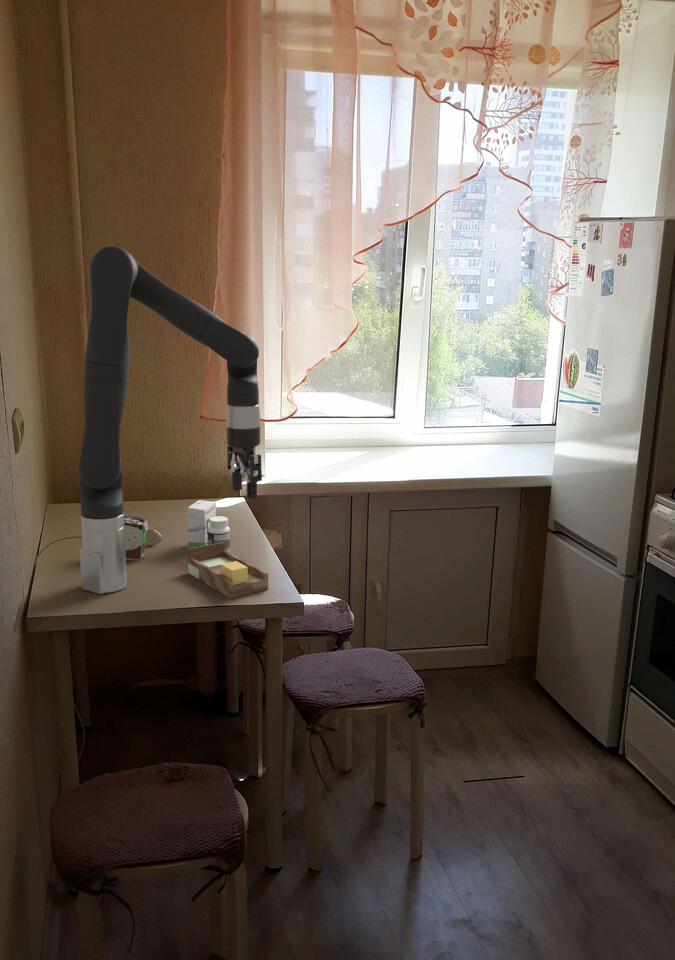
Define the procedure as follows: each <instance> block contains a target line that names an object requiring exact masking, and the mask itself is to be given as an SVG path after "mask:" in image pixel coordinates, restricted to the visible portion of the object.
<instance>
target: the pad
mask: <svg viewBox="0 0 675 960" xmlns="http://www.w3.org/2000/svg"><path fill="white" fill-rule="evenodd" d="M199 562H201V563H202V564H204V565H206V566H208V567H212V566H217V565H221V564H225V563H230V562H232V561H230V560H228V559H226V558H225V557H223V556H222V557H217V558H213V559H208V560H203V561H199ZM187 572H188V574H189V575H191V576H193V577H195V578H196V579H198V580H199V569H197V568H196V567H194V566H192V565H191V564H189V563H188V562H187Z"/></svg>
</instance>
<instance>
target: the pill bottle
mask: <svg viewBox="0 0 675 960" xmlns="http://www.w3.org/2000/svg"><path fill="white" fill-rule="evenodd" d="M209 523H210V527H209V528H208V530H207V536H208V538H207V539H208V545H210V544H215V543H220V542H225V550H226V551H227V552H229V553H231V529H230V527H229V525H228V524H229V519H228V517H227V516H222V515H221V516H220V515H218V516H217V515H216V516H215V517H211V518H210V519H209Z"/></svg>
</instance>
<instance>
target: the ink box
mask: <svg viewBox="0 0 675 960" xmlns="http://www.w3.org/2000/svg"><path fill="white" fill-rule="evenodd" d="M215 516H217V502H216V501H210V500H205V499H204V500H203V499H199V500H197V501H196V502H194V503H192V504H191V505H190V506H188V508H187V550H188V549H190V548H195V547H200V546H205V545H208V539H207V538H208V536H207V530H208V528H209V527H210V523H209V519H210V518H211V517H215Z"/></svg>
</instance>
